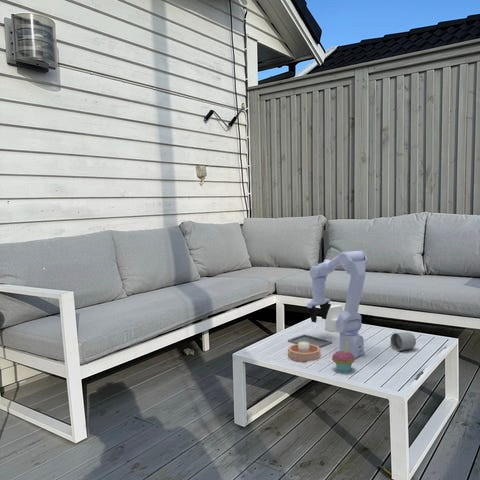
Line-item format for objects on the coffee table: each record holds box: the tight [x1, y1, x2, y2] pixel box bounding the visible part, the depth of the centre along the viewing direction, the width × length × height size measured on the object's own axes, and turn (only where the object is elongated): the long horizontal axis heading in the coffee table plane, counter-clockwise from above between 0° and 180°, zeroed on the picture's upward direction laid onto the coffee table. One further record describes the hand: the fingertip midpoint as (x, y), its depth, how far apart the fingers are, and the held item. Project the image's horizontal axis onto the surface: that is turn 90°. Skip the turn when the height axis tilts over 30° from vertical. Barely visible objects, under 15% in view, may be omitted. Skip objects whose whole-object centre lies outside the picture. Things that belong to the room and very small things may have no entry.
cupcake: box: [331, 342, 356, 373], centre depth 172 cm, size 9×8×12 cm
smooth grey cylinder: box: [298, 341, 309, 353], centre depth 188 cm, size 5×5×5 cm
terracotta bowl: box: [287, 343, 321, 363], centre depth 188 cm, size 13×13×4 cm
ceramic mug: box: [390, 331, 417, 352], centre depth 196 cm, size 11×8×8 cm
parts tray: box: [287, 334, 333, 349], centre depth 205 cm, size 16×12×1 cm
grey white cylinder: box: [324, 304, 343, 333], centre depth 225 cm, size 9×9×12 cm
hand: (319, 320), depth 209 cm, fingers open, 7 cm apart
